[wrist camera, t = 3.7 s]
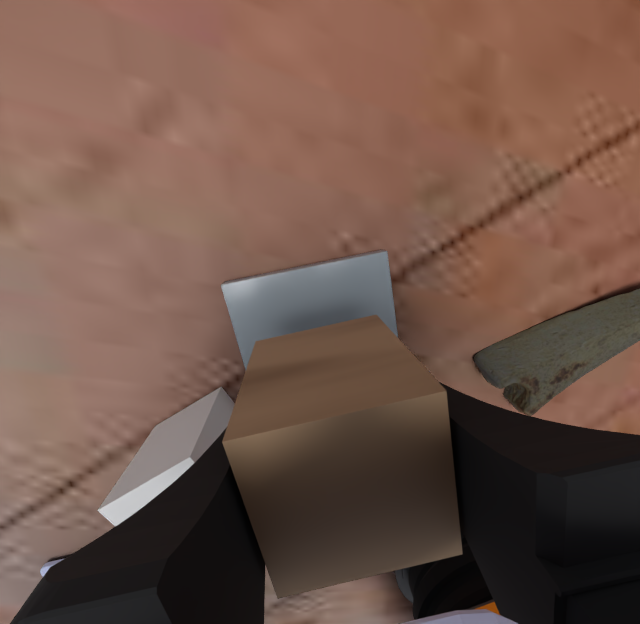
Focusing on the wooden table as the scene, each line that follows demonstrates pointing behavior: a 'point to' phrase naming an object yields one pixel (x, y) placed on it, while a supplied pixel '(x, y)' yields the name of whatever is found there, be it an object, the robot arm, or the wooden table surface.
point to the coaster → (309, 298)
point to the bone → (560, 350)
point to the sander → (446, 585)
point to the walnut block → (343, 456)
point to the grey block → (168, 454)
